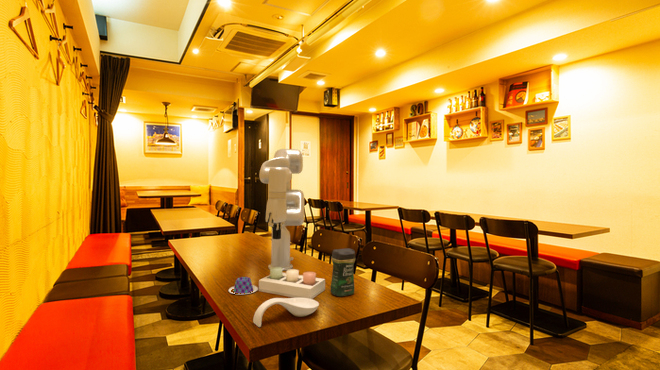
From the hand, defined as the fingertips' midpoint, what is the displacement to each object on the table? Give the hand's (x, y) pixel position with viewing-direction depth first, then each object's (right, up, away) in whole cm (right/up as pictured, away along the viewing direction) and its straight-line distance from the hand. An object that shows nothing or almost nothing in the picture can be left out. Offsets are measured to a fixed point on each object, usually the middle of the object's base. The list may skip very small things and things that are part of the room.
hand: (276, 238), depth 145 cm
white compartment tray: (+7, -21, -2) cm, 23 cm away
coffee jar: (+28, -22, -5) cm, 36 cm away
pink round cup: (+14, -18, -6) cm, 24 cm away
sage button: (0, -18, +1) cm, 18 cm away
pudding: (-13, -22, -4) cm, 26 cm away
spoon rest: (+8, -23, -29) cm, 38 cm away
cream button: (+7, -18, -3) cm, 20 cm away
